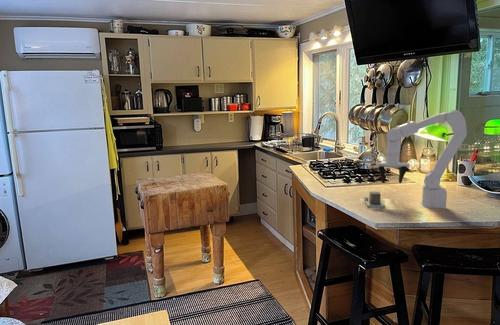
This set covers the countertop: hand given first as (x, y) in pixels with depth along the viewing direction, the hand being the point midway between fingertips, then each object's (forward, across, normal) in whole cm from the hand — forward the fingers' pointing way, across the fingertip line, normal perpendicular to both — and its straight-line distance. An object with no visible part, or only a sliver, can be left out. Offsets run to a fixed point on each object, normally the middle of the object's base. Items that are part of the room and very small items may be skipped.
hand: (391, 182), depth 174 cm
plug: (+9, -9, -4) cm, 13 cm away
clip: (+9, -9, -1) cm, 13 cm away
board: (+9, -6, -5) cm, 12 cm away
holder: (+9, -9, -8) cm, 15 cm away
